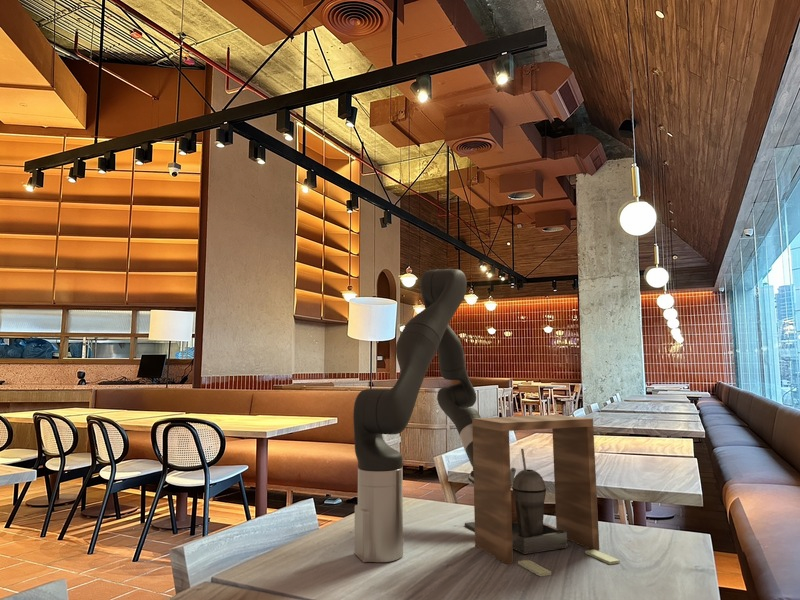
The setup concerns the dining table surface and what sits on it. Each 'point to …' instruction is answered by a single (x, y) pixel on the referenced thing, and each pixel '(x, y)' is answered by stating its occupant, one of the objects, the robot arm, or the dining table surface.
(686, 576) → the dining table surface
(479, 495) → the tunnel
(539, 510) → the beverage cup
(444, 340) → the robot arm
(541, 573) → the pair of cream slabs
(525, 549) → the shallow grey tray
